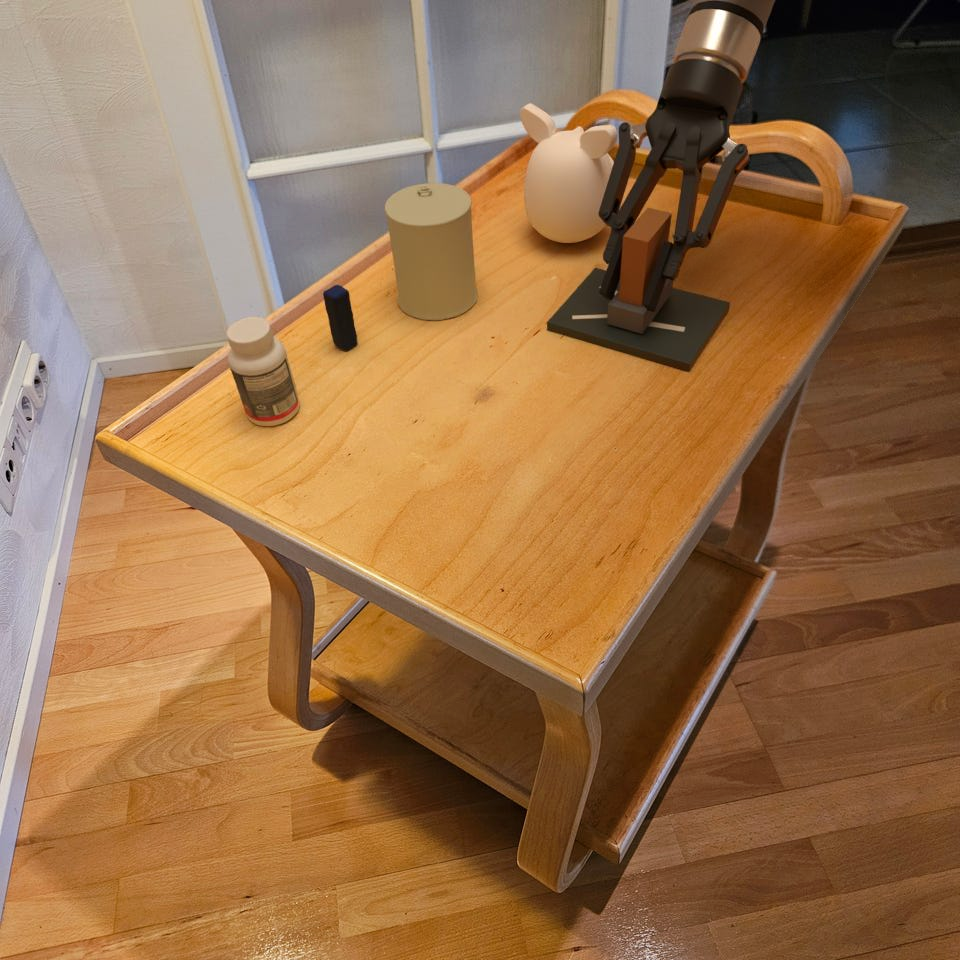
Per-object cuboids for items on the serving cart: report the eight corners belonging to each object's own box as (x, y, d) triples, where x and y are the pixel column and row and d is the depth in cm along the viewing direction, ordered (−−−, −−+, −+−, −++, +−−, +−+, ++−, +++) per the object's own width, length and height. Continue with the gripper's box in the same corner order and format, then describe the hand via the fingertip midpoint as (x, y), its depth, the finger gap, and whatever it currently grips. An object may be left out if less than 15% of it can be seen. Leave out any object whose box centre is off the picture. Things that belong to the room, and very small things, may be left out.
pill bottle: (245, 398, 84) (218, 317, 77) (298, 388, 84) (276, 307, 77) (247, 433, 80) (219, 351, 73) (303, 422, 81) (280, 340, 74)
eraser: (332, 345, 89) (320, 291, 84) (348, 336, 90) (337, 282, 85) (344, 353, 88) (333, 299, 83) (360, 344, 89) (350, 289, 84)
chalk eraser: (671, 294, 90) (682, 209, 83) (642, 334, 86) (650, 248, 78) (637, 285, 92) (645, 201, 84) (606, 324, 87) (612, 239, 80)
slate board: (729, 309, 90) (730, 301, 89) (688, 371, 83) (690, 363, 82) (594, 274, 96) (595, 266, 95) (546, 329, 89) (546, 321, 88)
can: (468, 269, 98) (461, 172, 90) (486, 312, 92) (480, 212, 83) (392, 282, 97) (377, 185, 89) (404, 327, 91) (390, 227, 82)
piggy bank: (629, 218, 104) (639, 96, 94) (600, 266, 97) (607, 139, 86) (537, 204, 108) (537, 85, 98) (503, 248, 101) (498, 125, 90)
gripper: (796, 105, 82) (713, 332, 84) (635, 79, 88) (562, 290, 91) (792, 67, 75) (701, 315, 77) (618, 43, 82) (540, 272, 84)
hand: (627, 301), depth 84 cm, fingers closed on chalk eraser, 4 cm apart
